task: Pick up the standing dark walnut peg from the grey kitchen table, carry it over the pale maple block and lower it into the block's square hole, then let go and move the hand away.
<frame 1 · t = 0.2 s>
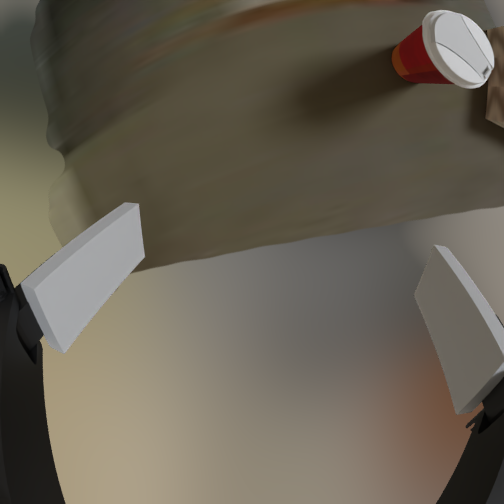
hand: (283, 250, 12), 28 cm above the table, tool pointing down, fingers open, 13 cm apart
coffee cup: (410, 62, 26), on the table
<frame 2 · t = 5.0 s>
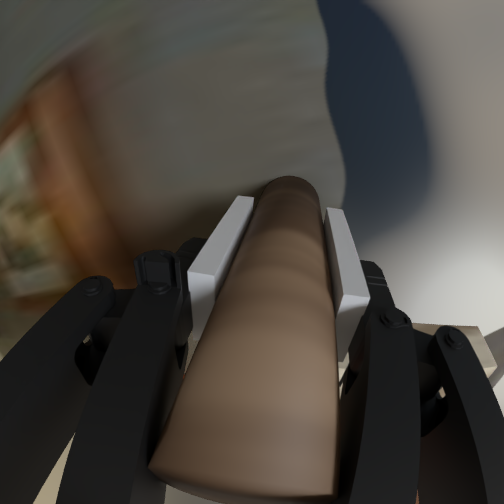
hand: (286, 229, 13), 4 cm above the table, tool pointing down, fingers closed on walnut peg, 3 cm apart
maple block: (375, 381, 23), on the table
walnut peg: (290, 204, 16), on the table, touching gripper
when the fingers open (7 cm above the table, at t = 11.2 s): walnut peg drops 2 cm, resting in maple block.
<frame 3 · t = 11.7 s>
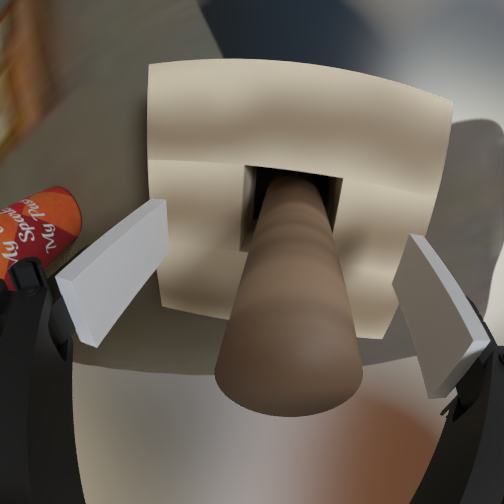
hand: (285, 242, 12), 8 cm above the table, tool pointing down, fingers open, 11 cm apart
maple block: (291, 189, 19), on the table
coffee cup: (62, 212, 24), on the table
walnut peg: (292, 191, 19), resting in maple block
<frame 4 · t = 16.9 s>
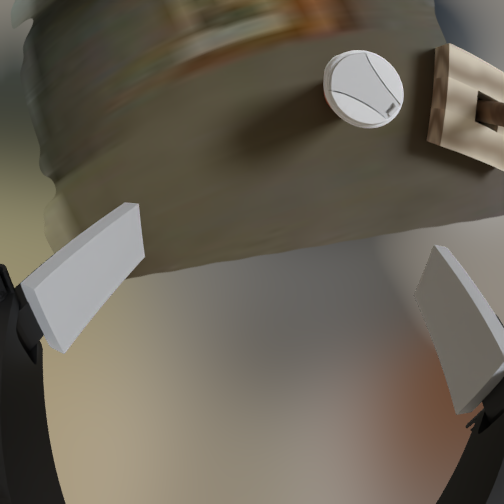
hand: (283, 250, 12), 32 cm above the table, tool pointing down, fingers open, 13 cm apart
maple block: (471, 109, 29), on the table
coffee cup: (343, 94, 34), on the table
walnut peg: (472, 109, 29), resting in maple block
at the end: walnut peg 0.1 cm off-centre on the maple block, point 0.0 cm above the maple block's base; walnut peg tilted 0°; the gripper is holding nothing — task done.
